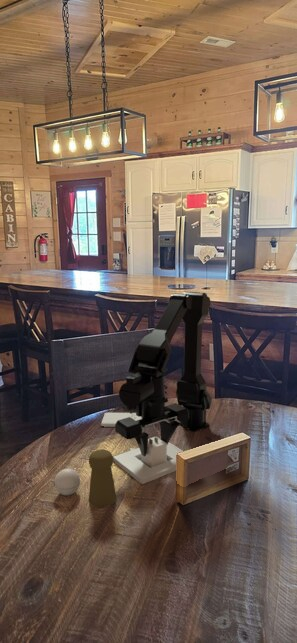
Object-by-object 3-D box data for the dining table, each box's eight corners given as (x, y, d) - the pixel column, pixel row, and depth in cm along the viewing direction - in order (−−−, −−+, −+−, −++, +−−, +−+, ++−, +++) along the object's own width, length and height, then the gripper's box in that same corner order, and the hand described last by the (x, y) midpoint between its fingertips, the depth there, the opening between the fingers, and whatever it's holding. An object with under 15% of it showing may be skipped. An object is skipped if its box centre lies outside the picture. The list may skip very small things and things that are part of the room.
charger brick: (155, 454, 115) (155, 432, 114) (166, 461, 111) (166, 439, 110) (141, 459, 113) (140, 437, 111) (151, 467, 109) (151, 444, 108)
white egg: (63, 484, 103) (62, 461, 102) (85, 488, 101) (84, 466, 100) (44, 502, 96) (42, 479, 95) (67, 508, 94) (65, 484, 93)
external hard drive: (105, 416, 141) (144, 417, 140) (101, 428, 133) (143, 428, 132) (105, 412, 140) (144, 412, 140) (101, 423, 132) (143, 423, 132)
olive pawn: (121, 494, 99) (120, 448, 96) (107, 510, 93) (105, 462, 91) (97, 488, 101) (95, 443, 99) (83, 503, 96) (80, 456, 93)
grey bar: (132, 450, 118) (132, 447, 118) (136, 453, 116) (136, 450, 116) (103, 461, 113) (103, 457, 113) (106, 464, 111) (106, 460, 111)
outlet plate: (163, 443, 122) (163, 439, 121) (195, 462, 111) (195, 458, 111) (113, 461, 113) (112, 456, 112) (141, 484, 102) (141, 479, 102)
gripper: (163, 376, 120) (164, 430, 123) (102, 391, 109) (105, 450, 113) (190, 388, 111) (190, 446, 114) (126, 406, 101) (128, 469, 104)
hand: (153, 452), depth 111 cm, fingers open, 6 cm apart
